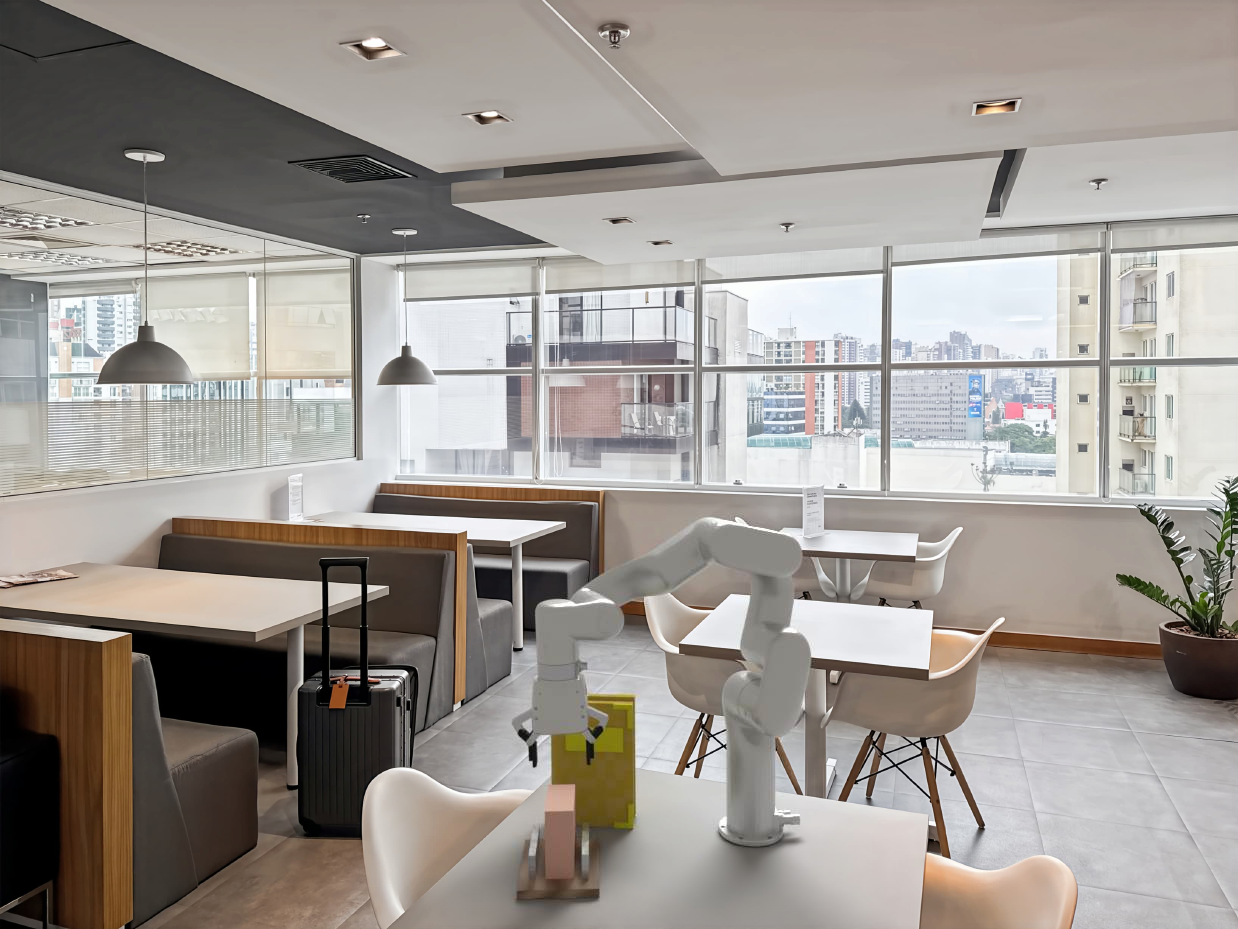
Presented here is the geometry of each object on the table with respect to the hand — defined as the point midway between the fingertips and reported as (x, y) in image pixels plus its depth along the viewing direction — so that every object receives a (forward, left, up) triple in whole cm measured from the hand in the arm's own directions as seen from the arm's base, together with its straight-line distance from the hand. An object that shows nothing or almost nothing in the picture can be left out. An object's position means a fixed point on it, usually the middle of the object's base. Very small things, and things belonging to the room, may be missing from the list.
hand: (561, 763), depth 154 cm
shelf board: (+1, 0, -20) cm, 20 cm away
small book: (0, 0, -18) cm, 18 cm away
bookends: (+1, 0, -18) cm, 18 cm away
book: (-5, -20, -20) cm, 29 cm away
